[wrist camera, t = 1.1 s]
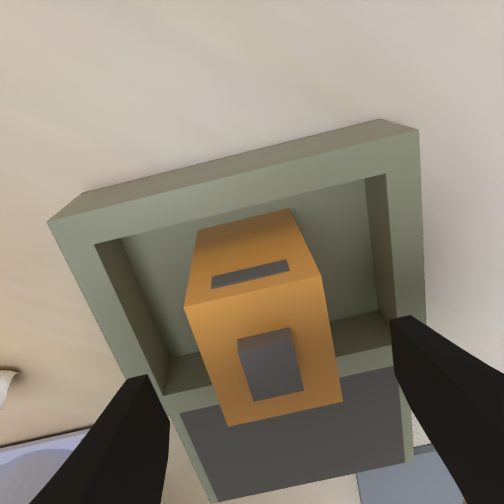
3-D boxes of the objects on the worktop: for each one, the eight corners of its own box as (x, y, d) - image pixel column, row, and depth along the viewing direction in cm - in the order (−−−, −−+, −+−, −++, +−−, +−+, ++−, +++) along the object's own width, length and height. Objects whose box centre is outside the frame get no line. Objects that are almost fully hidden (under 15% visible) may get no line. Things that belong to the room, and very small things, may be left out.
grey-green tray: (211, 484, 25) (208, 544, 22) (81, 193, 16) (46, 221, 13) (405, 443, 24) (432, 498, 21) (379, 118, 16) (418, 129, 12)
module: (227, 323, 18) (228, 443, 12) (197, 228, 16) (180, 318, 10) (308, 304, 18) (348, 417, 12) (288, 206, 16) (326, 284, 10)
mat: (365, 529, 28) (367, 536, 28) (353, 460, 25) (355, 467, 24) (458, 510, 28) (462, 517, 27) (459, 438, 24) (464, 444, 24)
